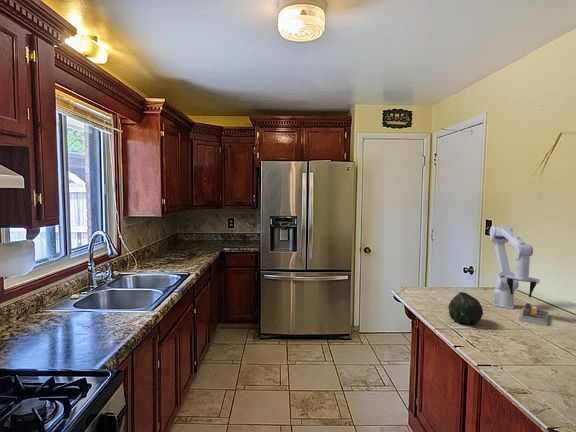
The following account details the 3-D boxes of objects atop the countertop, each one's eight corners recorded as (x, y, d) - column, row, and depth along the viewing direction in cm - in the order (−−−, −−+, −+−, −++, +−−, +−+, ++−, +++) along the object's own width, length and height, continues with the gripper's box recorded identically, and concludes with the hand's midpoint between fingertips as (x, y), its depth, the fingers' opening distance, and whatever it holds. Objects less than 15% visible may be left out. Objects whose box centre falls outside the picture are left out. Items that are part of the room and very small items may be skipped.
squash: (489, 309, 176) (467, 283, 180) (489, 320, 163) (465, 292, 167) (463, 324, 182) (442, 299, 186) (461, 335, 169) (439, 308, 173)
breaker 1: (525, 310, 187) (525, 304, 187) (525, 309, 189) (526, 302, 189) (529, 311, 186) (530, 304, 186) (530, 310, 188) (530, 303, 188)
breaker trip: (531, 314, 181) (531, 307, 181) (531, 313, 183) (532, 306, 183) (536, 315, 180) (536, 308, 180) (536, 314, 182) (537, 307, 182)
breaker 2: (523, 316, 179) (523, 309, 178) (523, 314, 180) (524, 308, 180) (528, 317, 177) (528, 310, 177) (528, 315, 179) (528, 309, 179)
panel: (518, 320, 177) (518, 316, 177) (522, 310, 193) (522, 306, 192) (546, 325, 171) (546, 321, 171) (548, 315, 186) (548, 310, 186)
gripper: (504, 267, 185) (502, 294, 186) (539, 272, 176) (537, 300, 177) (506, 265, 190) (504, 291, 191) (540, 269, 182) (538, 296, 183)
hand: (520, 295), depth 185 cm, fingers open, 7 cm apart
